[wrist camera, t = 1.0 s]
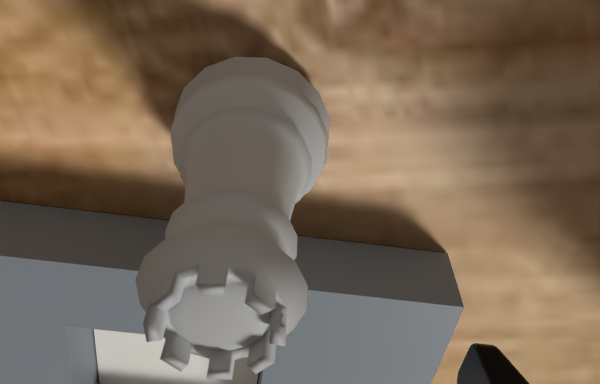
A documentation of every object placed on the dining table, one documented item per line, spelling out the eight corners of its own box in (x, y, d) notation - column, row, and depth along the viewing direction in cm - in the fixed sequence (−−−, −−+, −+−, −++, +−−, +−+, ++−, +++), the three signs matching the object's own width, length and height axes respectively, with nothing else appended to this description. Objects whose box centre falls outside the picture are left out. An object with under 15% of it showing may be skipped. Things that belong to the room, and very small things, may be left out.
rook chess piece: (170, 170, 17) (84, 392, 11) (186, 32, 15) (86, 211, 8) (309, 197, 18) (309, 425, 11) (347, 68, 15) (375, 264, 9)
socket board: (447, 253, 19) (463, 307, 17) (373, 448, 26) (379, 503, 24) (-99, 189, 18) (-152, 238, 16) (-27, 411, 25) (-57, 465, 23)
